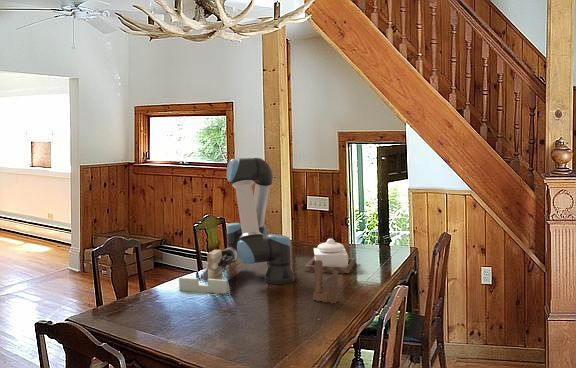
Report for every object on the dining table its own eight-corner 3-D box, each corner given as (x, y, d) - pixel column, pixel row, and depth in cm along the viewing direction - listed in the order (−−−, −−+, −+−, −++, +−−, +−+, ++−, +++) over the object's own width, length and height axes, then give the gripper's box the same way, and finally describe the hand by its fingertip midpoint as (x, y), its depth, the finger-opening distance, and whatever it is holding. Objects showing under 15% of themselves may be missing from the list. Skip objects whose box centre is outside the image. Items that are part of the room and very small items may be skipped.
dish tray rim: (355, 263, 332) (355, 258, 332) (348, 273, 309) (348, 268, 309) (314, 261, 338) (314, 256, 338) (304, 271, 315) (304, 265, 315)
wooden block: (334, 304, 256) (334, 263, 255) (312, 300, 262) (312, 261, 260) (338, 301, 260) (338, 262, 258) (316, 298, 265) (316, 259, 263)
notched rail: (227, 292, 277) (227, 279, 276) (226, 293, 275) (225, 280, 275) (181, 289, 283) (180, 277, 283) (179, 290, 281) (179, 278, 281)
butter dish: (348, 270, 315) (348, 241, 313) (314, 271, 315) (314, 241, 314) (345, 263, 332) (345, 235, 331) (313, 263, 332) (313, 235, 331)
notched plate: (222, 280, 298) (221, 249, 296) (214, 286, 288) (213, 254, 287) (215, 280, 299) (215, 249, 297) (208, 285, 289) (207, 253, 288)
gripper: (242, 263, 308) (226, 274, 286) (213, 262, 312) (195, 272, 290) (242, 249, 307) (226, 259, 285) (213, 248, 312) (194, 257, 289)
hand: (210, 266), depth 287 cm, fingers closed on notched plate, 3 cm apart
